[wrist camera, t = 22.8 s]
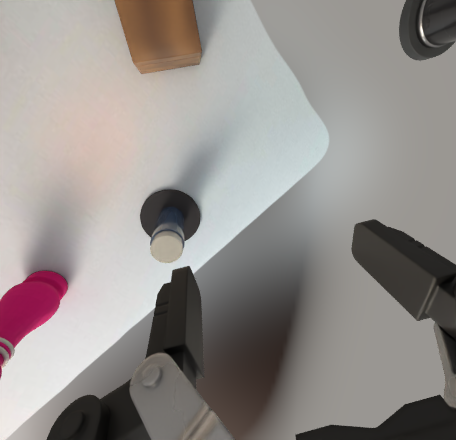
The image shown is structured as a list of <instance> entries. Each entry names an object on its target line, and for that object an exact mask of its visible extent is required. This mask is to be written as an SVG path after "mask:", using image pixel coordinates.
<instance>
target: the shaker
mask: <svg viewBox="0 0 456 440" xmlns="http://www.w3.org/2000/svg"><path fill="white" fill-rule="evenodd" d="M150 245H151V247H150V252H151V254H152V256H153V257H154V258H155V259H156V260H157V261H159V262H162V263H171V262H174V261H176V260H177V259H178V258H179V257H180V256H181V255H182V252H183V248H184V215H183V213H182V212H181V211H180V210H179V209H177V208H175V207H167V208H165V209H163V210H162V211H161V212H160V213H159V215H158V219H157V222H156V225H155V228H154V231H153V235H152V238H151V242H150Z"/></svg>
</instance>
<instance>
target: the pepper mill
mask: <svg viewBox="0 0 456 440" xmlns="http://www.w3.org/2000/svg"><path fill="white" fill-rule="evenodd" d="M67 289H68V284H67V282H66V280H65V279H64V278H63V277H62V276H61V275H59V274H57V273H55V272H52V271H38V272H35V273H33V274H31V275H30V276H29V277H28V278H27V279H26V280H25V281H23V282H22V283H21V284H18V285H16V286H14V287H12V288H11V289H10V290H8V292H7V293H6V294H5V295H4V296H3V297H2V299H1V300H0V378H1V374H2V368H3V367H4V366H6V365H7V363H8V361H9V360H10V359H11V358H12V357H13V355H14V351H15V350H14V348H15V346H16V345H17V344H18V343H19V342H20V341H21V340H22V339H23V337H25V336H26V335H27V334H28V333H30V332H31V331H33V330H34V329H36V328H37V327H39V326H41V325H42V324H44V323H45V322H46V321H47V320H49V319H50V318H51V317H52V316H53V315H54V313H55V312H56V311H57V309H58V308H59V305H60V300H61V299H62V297H63V296H64V295H65V293H66V292H67Z"/></svg>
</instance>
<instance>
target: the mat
mask: <svg viewBox="0 0 456 440" xmlns="http://www.w3.org/2000/svg"><path fill="white" fill-rule="evenodd" d="M167 207H175V208H177V209H179V210H180V211H181V212H182V213H183V215H184V241H186V240H188V239H189V238H190V237H192V236H193V235H194V233H195V232H196V231H197V229H198V227H199V224H200V212H199V208H198V206H197V204H196V203H195V201H194V200H193V199H192V198H191V197H190V196H188V195H187V194H185V193H183V192H181V191H177V190H162V191H159V192H156V193H154V194H153V195H151V196H150V197H149V198H148V199H147V200H146V201H145V203H144V204H143V206H142V209H141V214H140V219H141V224H142V227H143V229H144V230H145V232H146V233H147V234H148V235H149V236H150V237H151V238H152V235H153V231H154V228H155V225H156V222H157V219H158V215H159V213H160V212H161V211H162V210H163V209H165V208H167Z"/></svg>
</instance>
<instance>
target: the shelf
mask: <svg viewBox="0 0 456 440" xmlns="http://www.w3.org/2000/svg"><path fill="white" fill-rule="evenodd" d="M115 4H116V7H117V10H118V14H119V17H120V20H121V24H122V27H123V30H124V34H125V37H126V40H127V44H128V47H129V50H130V54H131V57H132V60H133V63H134V64H135V66H136V67H137V69H138V70H139V71H140V73H141V74H144V73H150V72H156V71H162V70H168V69H175V68H181V67H187V66H193V65H199V63H200V59H201V53H202V49H201V44H200V38H199V33H198V28H197V22H196V17H195V12H194V6H193V1H192V0H115Z"/></svg>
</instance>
